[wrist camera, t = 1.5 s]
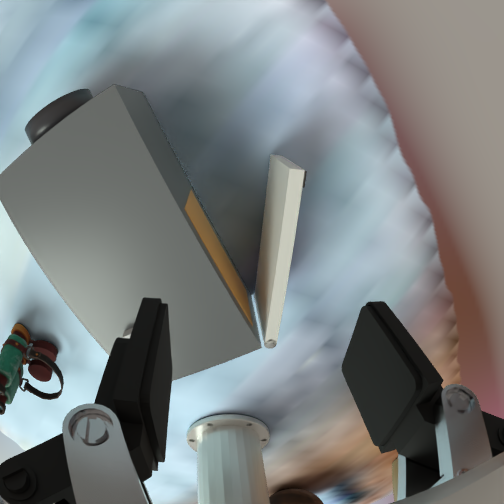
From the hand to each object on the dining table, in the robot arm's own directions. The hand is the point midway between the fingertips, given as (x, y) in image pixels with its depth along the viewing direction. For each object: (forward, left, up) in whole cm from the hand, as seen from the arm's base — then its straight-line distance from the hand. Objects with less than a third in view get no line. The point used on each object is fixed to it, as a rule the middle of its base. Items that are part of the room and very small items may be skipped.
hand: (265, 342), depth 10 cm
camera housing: (+2, +9, -20) cm, 22 cm away
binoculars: (-6, +32, -20) cm, 38 cm away
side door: (-5, -1, -19) cm, 20 cm away
